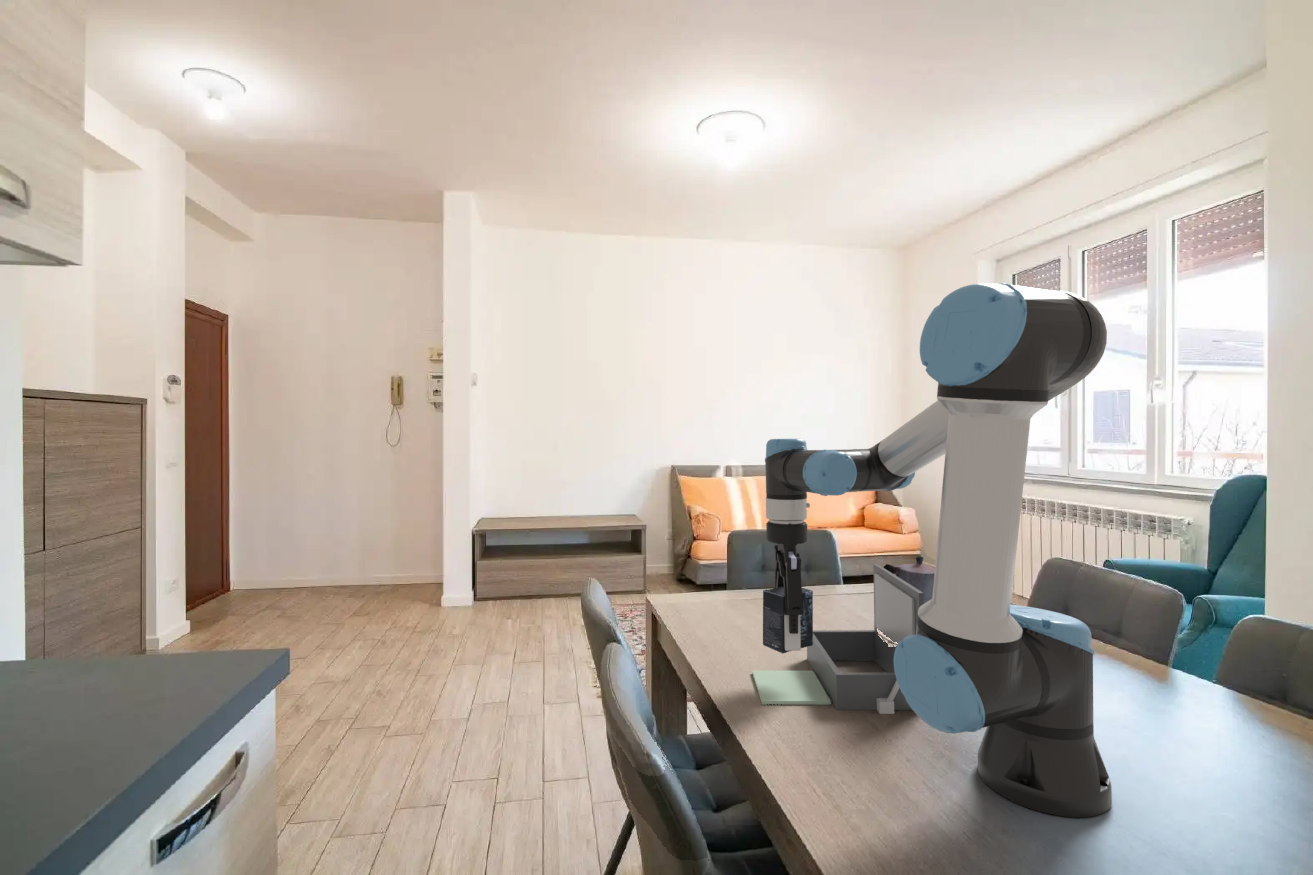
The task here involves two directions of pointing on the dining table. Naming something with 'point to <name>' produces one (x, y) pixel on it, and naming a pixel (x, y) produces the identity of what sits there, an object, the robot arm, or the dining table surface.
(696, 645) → the dining table surface
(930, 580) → the moka pot
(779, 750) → the dining table surface
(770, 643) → the box
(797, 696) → the pad
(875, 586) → the case
